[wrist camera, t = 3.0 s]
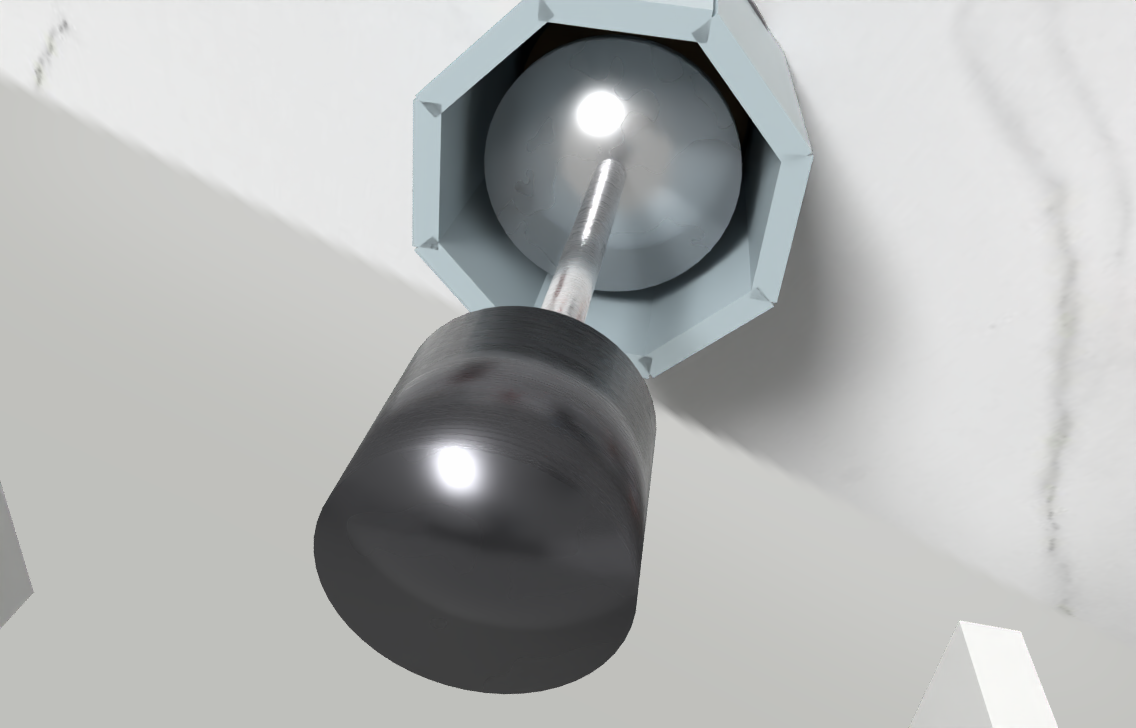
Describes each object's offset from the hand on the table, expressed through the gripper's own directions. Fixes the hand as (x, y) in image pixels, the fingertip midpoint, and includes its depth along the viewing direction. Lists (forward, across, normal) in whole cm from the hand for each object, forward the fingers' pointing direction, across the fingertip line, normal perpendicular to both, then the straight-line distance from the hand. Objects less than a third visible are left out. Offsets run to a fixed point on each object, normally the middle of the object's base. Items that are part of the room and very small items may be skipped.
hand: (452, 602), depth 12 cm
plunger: (+19, 0, 0) cm, 19 cm away
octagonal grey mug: (+28, 0, -1) cm, 28 cm away
